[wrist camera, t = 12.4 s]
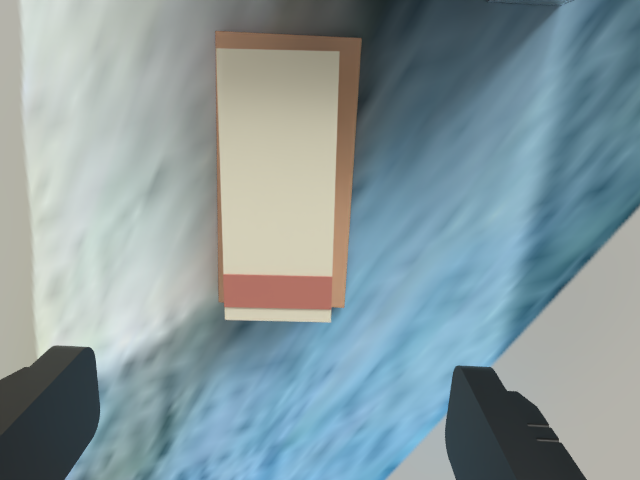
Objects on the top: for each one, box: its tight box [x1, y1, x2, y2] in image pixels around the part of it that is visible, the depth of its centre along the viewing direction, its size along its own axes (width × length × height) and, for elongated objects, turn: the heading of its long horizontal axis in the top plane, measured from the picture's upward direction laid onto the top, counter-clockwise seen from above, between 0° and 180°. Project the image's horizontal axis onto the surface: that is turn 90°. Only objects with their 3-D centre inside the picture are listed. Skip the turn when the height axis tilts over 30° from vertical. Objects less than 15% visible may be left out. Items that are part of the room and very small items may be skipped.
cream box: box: [216, 48, 340, 322], centre depth 23 cm, size 12×5×4 cm, turn 179°
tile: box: [215, 31, 362, 308], centre depth 26 cm, size 14×7×1 cm, turn 177°
